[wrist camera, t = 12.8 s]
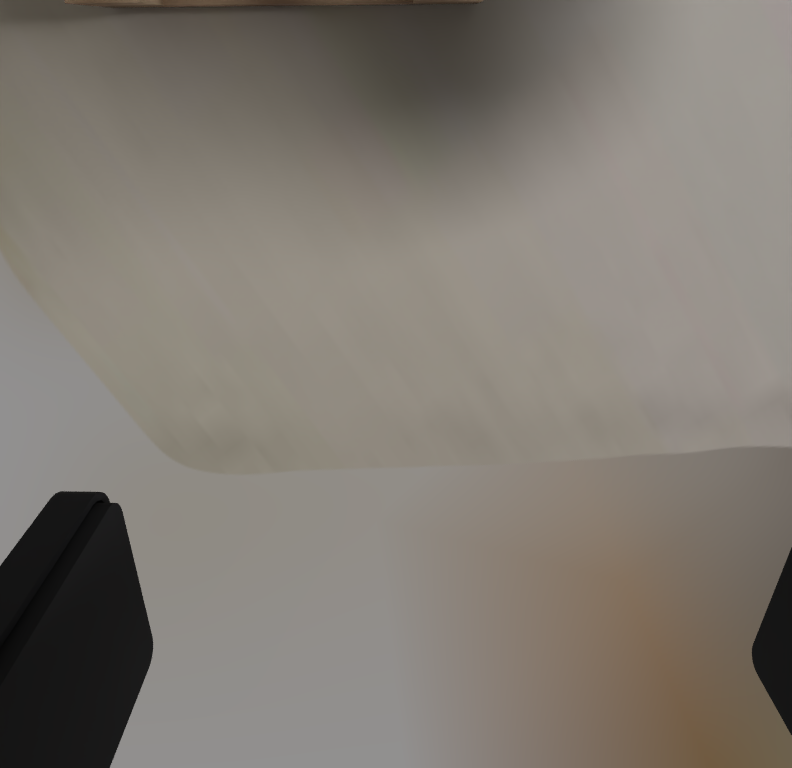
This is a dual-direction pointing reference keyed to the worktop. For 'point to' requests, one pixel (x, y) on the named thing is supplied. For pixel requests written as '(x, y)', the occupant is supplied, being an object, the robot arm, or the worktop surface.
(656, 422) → the worktop surface
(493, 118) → the worktop surface
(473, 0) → the wooden u-shaped tray
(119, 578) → the robot arm
